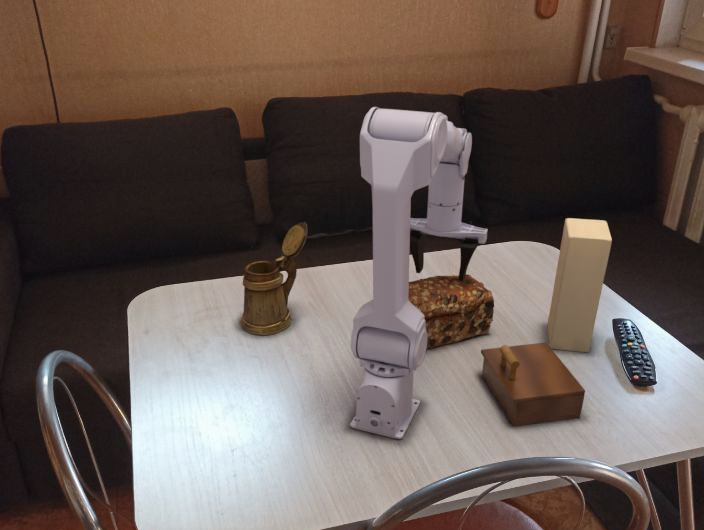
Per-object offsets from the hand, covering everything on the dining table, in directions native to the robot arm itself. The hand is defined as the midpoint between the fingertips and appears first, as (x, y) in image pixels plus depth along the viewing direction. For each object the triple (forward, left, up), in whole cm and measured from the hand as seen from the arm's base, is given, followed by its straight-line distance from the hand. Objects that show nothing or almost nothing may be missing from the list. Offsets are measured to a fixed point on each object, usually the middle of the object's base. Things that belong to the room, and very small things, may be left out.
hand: (440, 274), depth 122 cm
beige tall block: (+3, -23, -10) cm, 25 cm away
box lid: (-16, -19, -6) cm, 25 cm away
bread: (-3, 0, -10) cm, 11 cm away
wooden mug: (-9, +28, -10) cm, 31 cm away
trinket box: (-16, -19, -10) cm, 27 cm away
